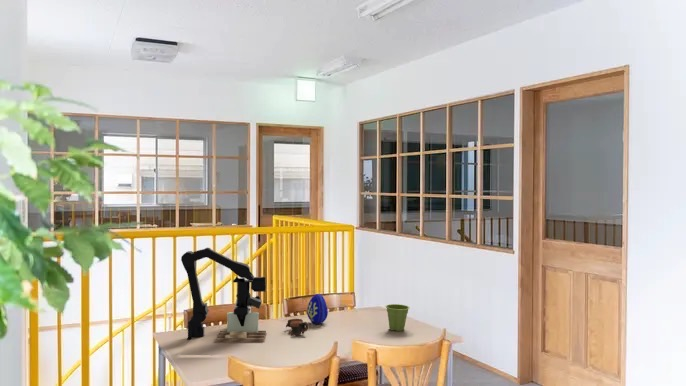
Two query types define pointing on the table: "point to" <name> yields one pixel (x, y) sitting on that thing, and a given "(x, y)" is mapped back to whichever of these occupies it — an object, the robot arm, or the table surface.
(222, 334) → the walnut rack
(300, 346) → the table surface
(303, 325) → the pottery mug
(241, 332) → the upper pine offcut
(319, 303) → the ornament
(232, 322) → the sage board
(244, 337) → the lower pine offcut
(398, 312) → the plant pot
